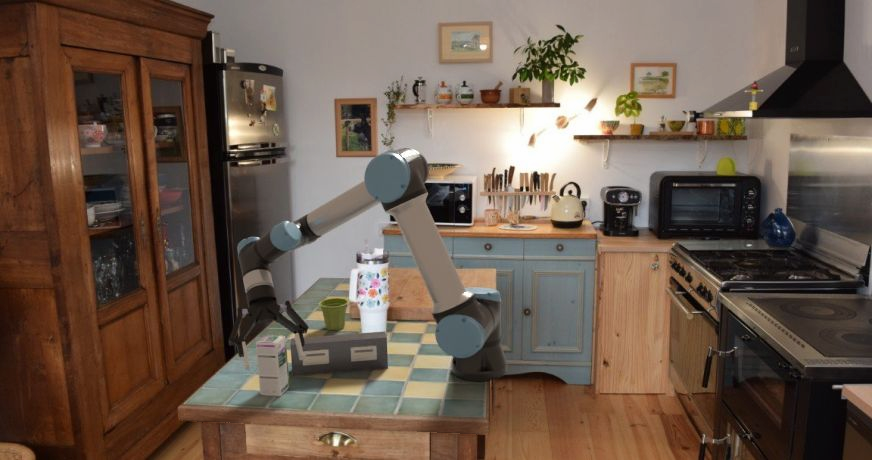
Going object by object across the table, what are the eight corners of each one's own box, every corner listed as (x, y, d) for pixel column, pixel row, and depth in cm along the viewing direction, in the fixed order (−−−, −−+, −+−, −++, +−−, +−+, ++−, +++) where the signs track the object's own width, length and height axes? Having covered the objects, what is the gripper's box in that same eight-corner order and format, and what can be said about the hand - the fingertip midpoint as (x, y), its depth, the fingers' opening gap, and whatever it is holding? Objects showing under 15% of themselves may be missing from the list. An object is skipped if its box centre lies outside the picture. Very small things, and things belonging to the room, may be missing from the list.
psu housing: (386, 361, 194) (385, 331, 192) (388, 369, 188) (387, 338, 187) (293, 369, 190) (291, 338, 188) (292, 377, 184) (290, 345, 183)
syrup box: (281, 397, 172) (277, 342, 170) (259, 395, 174) (255, 341, 171) (290, 387, 178) (286, 334, 175) (268, 386, 179) (265, 333, 176)
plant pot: (335, 334, 216) (333, 308, 215) (314, 328, 222) (313, 303, 220) (355, 326, 224) (354, 301, 222) (335, 321, 229) (333, 296, 227)
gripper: (304, 291, 190) (321, 360, 180) (210, 304, 180) (223, 377, 170) (307, 277, 184) (325, 347, 174) (211, 289, 174) (224, 365, 164)
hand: (275, 362), depth 172 cm, fingers open, 13 cm apart
